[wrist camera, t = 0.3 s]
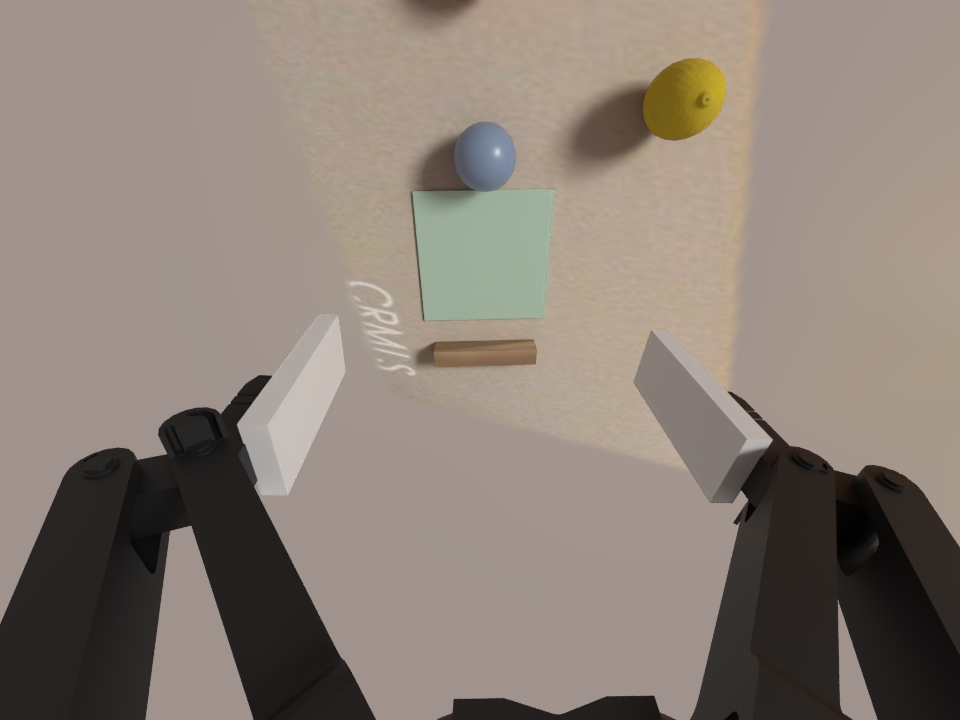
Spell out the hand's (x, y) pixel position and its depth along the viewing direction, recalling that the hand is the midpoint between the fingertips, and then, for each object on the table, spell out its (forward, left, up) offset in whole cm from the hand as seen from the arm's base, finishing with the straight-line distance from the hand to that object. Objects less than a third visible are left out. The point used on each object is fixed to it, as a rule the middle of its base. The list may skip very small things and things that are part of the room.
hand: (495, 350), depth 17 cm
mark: (+5, +1, -27) cm, 27 cm away
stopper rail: (+16, +1, -27) cm, 31 cm away
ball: (-5, +1, -24) cm, 25 cm away
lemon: (-9, +17, -27) cm, 33 cm away
